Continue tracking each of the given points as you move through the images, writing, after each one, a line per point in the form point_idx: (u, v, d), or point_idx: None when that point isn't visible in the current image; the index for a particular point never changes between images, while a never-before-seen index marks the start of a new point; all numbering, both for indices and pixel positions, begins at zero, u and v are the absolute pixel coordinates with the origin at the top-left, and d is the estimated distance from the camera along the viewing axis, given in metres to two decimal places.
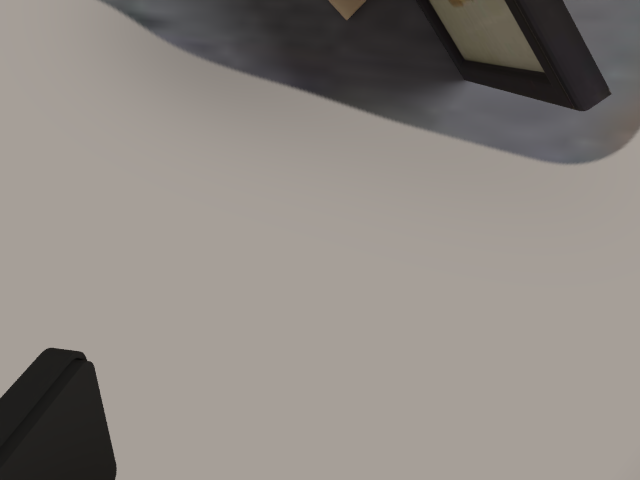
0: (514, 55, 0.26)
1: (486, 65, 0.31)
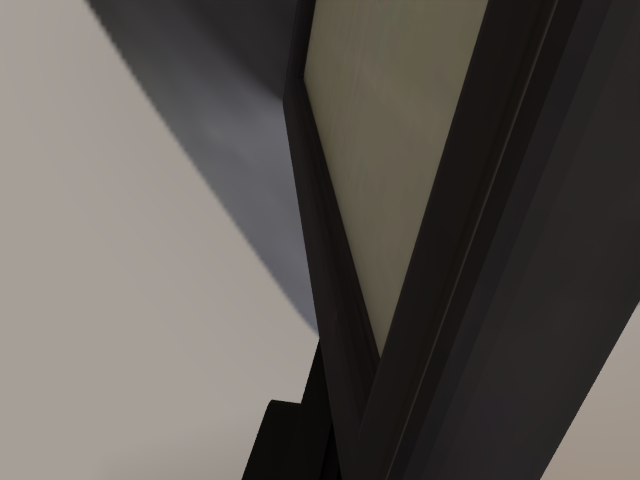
0: (357, 204, 0.09)
1: (312, 134, 0.13)
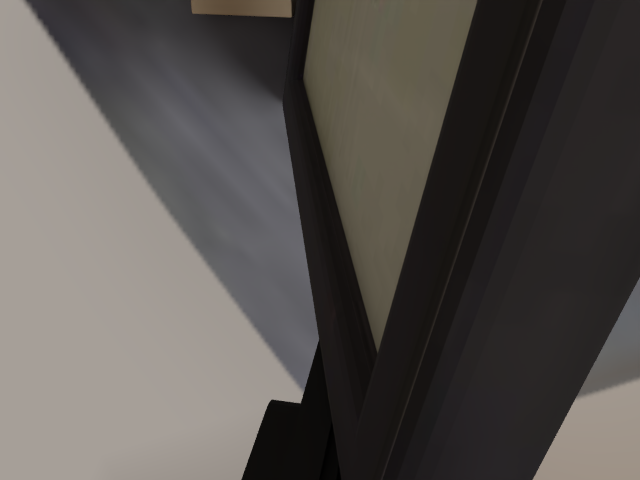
0: (356, 204, 0.09)
1: (312, 134, 0.14)
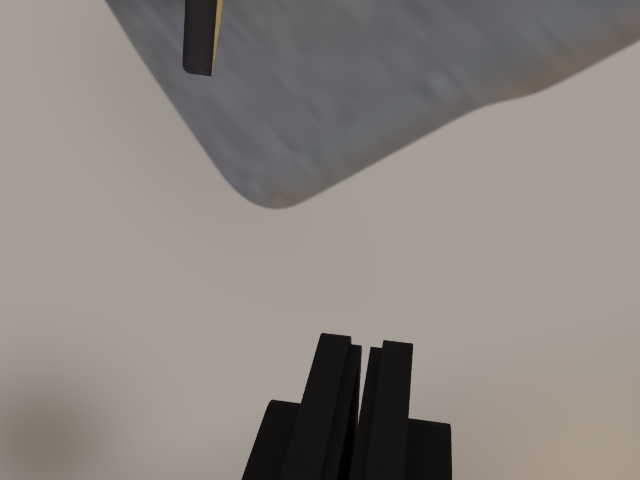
0: None
1: None
